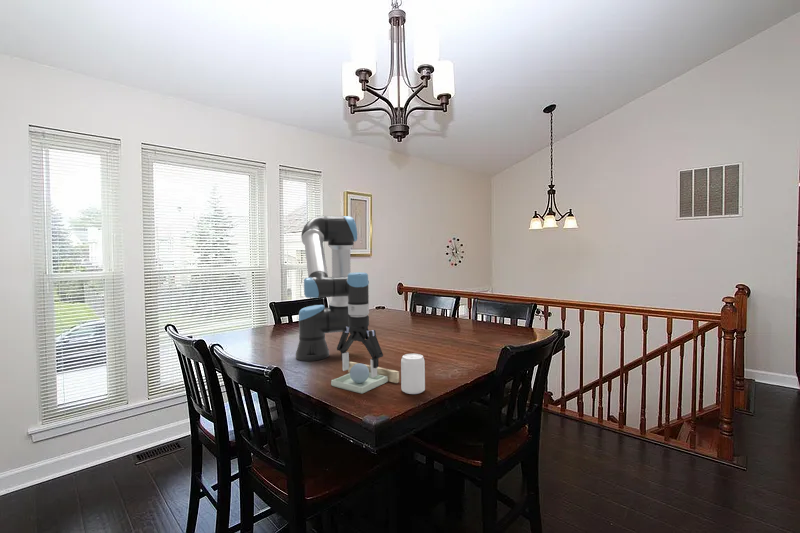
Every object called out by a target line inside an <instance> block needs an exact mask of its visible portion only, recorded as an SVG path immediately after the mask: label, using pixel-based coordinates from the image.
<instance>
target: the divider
mask: <svg viewBox="0 0 800 533" xmlns="http://www.w3.org/2000/svg"><path fill="white" fill-rule="evenodd" d="M358 363H359V362H355V361H351V360H349V369H348V370H347V373H348V374H349V373H350V370H351V368H352V367H353V366H354V365H355V364H358ZM363 364H364V363H363ZM364 365H366V366H367V367H368V369H369V372H370V373H371V364H366V363H365V364H364ZM377 374H379V375H383V376H388V382H390V383H394V384H398V383H400V370H399V371H398V370H395V369H390V368H385V367H380V366H378V367H377Z"/></svg>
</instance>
